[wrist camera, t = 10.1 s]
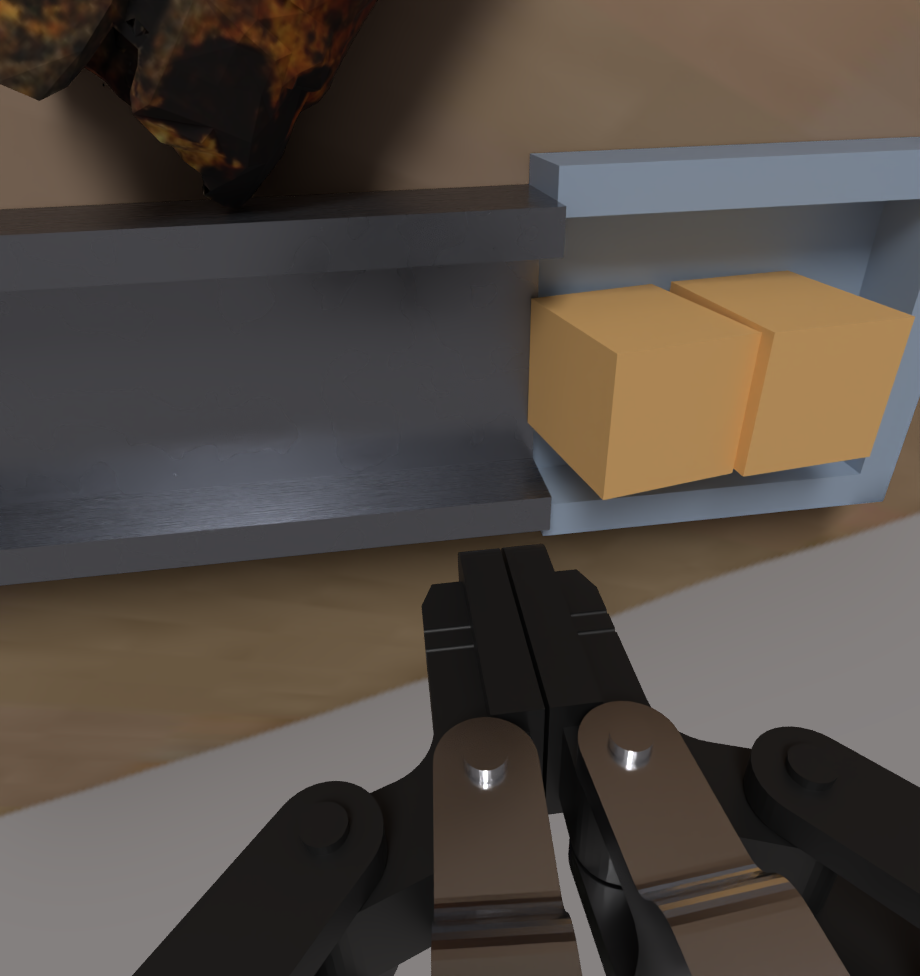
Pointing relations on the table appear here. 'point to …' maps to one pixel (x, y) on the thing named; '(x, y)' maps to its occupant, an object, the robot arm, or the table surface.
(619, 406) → the tan cardboard cube
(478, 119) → the table surface
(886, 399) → the cardboard box
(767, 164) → the tray
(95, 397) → the rail
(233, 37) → the dark wooden branch
